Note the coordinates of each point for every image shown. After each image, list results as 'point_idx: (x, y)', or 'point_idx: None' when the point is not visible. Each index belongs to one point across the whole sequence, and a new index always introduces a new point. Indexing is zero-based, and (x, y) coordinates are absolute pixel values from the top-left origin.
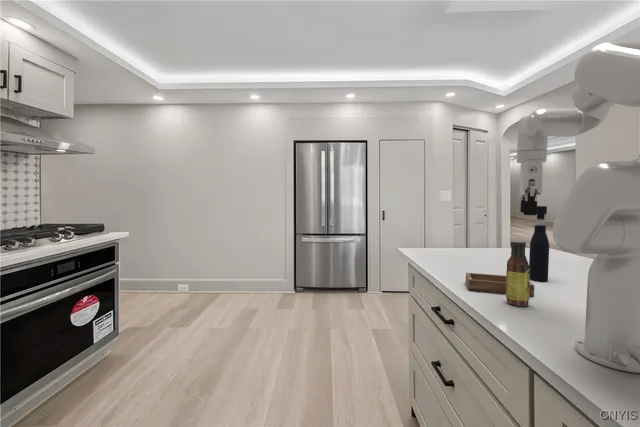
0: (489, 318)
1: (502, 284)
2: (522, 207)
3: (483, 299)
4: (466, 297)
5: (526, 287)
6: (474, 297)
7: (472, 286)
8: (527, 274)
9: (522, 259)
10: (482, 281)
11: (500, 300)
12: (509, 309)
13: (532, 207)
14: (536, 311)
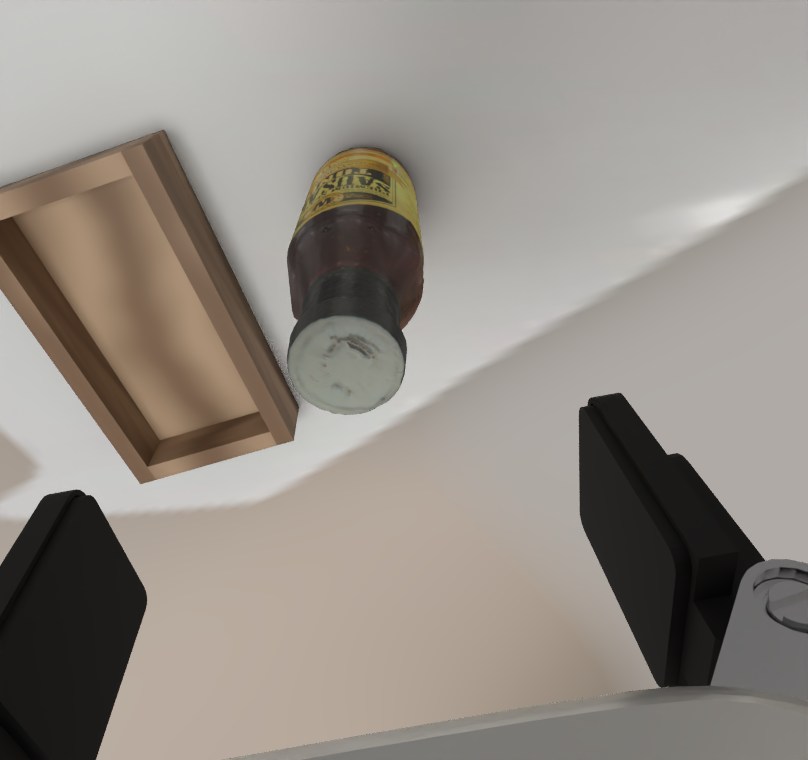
0: (642, 267)
1: (226, 300)
2: (123, 650)
3: None
4: (409, 391)
5: (397, 181)
6: None
7: (289, 407)
8: (390, 201)
9: (395, 268)
10: (268, 388)
11: None
12: (475, 216)
13: (715, 514)
14: (431, 102)
